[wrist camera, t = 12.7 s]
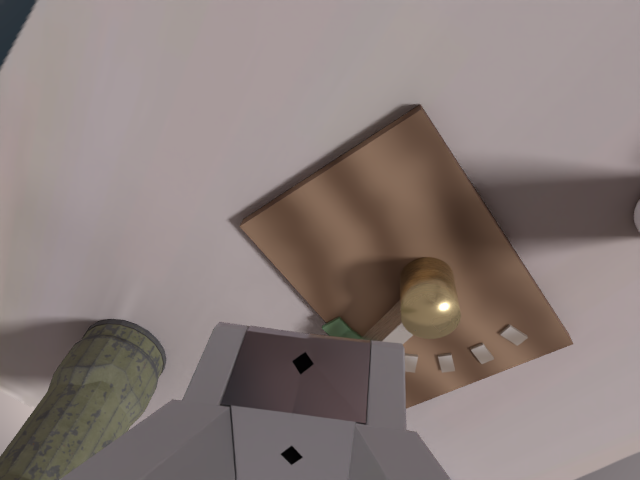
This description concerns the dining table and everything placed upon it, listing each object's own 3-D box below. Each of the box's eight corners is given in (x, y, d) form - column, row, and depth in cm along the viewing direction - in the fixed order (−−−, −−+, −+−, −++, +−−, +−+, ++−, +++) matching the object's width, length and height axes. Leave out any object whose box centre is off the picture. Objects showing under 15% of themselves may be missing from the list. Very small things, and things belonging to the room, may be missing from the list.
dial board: (420, 104, 36) (421, 110, 35) (569, 334, 45) (574, 346, 44) (238, 222, 43) (233, 231, 42) (399, 401, 52) (399, 413, 51)
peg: (423, 247, 41) (426, 283, 37) (465, 275, 42) (473, 313, 38) (341, 331, 47) (336, 370, 42) (380, 354, 47) (379, 394, 43)
